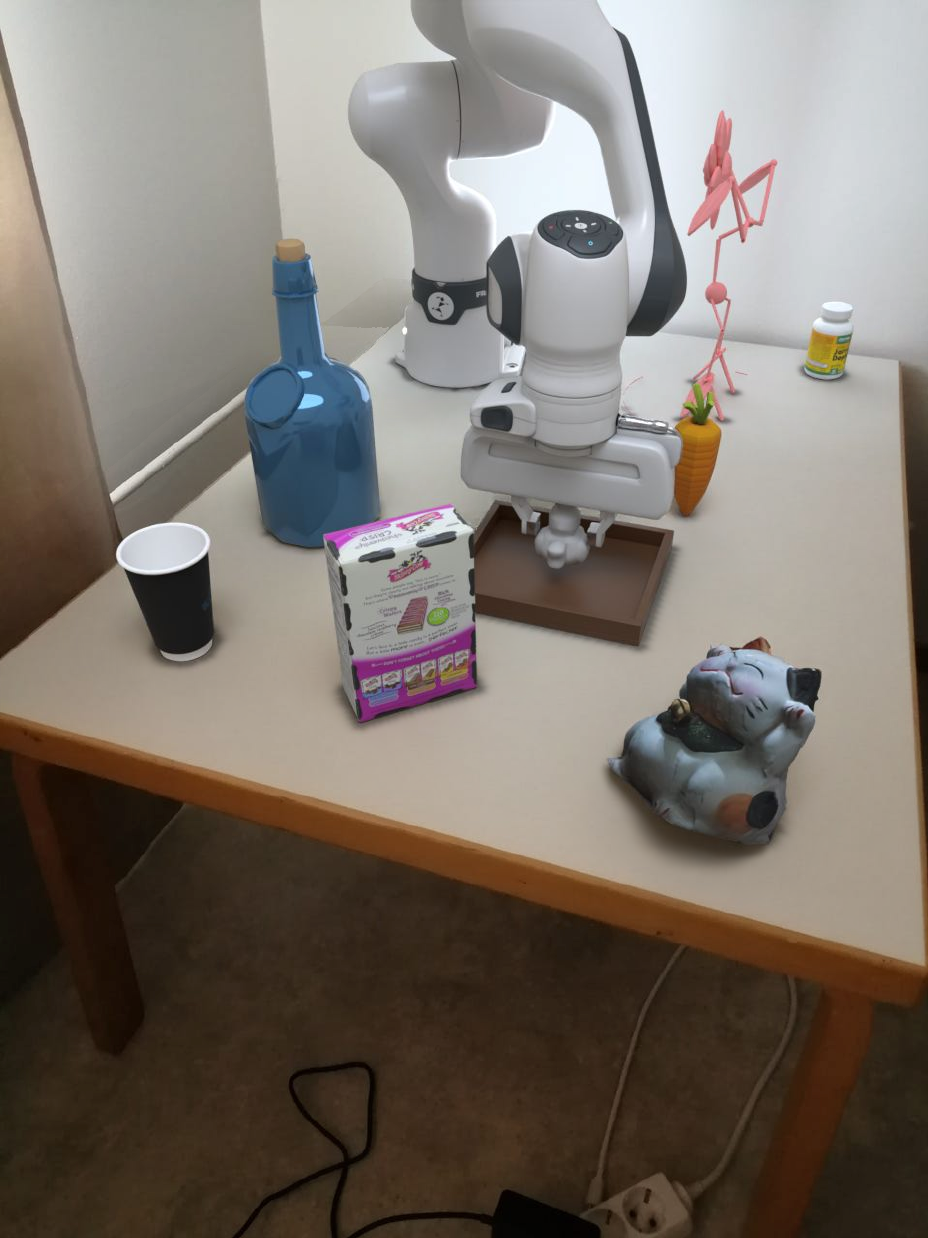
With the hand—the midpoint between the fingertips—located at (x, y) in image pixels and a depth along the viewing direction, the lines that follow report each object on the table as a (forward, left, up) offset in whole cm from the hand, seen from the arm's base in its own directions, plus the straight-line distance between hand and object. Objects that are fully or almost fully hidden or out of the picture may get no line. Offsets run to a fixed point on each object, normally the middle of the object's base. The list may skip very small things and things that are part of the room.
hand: (562, 537), depth 96 cm
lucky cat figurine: (+24, +18, -5) cm, 30 cm away
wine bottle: (-2, -28, -5) cm, 28 cm away
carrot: (-16, +10, -5) cm, 19 cm away
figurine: (-46, +4, -5) cm, 46 cm away
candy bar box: (+21, -8, -5) cm, 23 cm away
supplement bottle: (-61, +22, -5) cm, 65 cm away
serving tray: (0, 0, -5) cm, 5 cm away
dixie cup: (+22, -30, -5) cm, 38 cm away
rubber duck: (0, 0, -3) cm, 3 cm away
